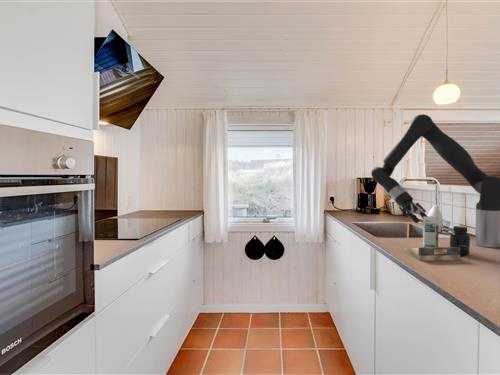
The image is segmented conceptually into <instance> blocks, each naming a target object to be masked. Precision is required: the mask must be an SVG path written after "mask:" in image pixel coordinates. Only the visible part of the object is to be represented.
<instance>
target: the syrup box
mask: <svg viewBox="0 0 500 375" xmlns="http://www.w3.org/2000/svg"><path fill="white" fill-rule="evenodd" d="M422 219H423V220H422V246H423V248H428V247H439V231H438V217H429V216H428V215H427V216H423V218H422Z"/></svg>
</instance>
